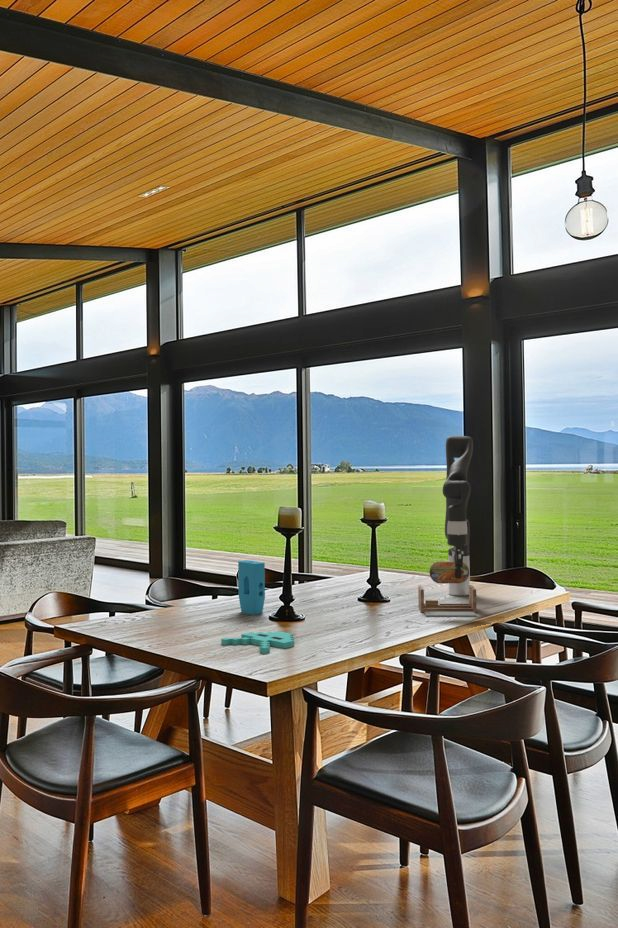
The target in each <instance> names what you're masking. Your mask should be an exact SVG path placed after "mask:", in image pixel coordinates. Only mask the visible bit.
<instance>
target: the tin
mask: <svg viewBox="0 0 618 928" xmlns="http://www.w3.org/2000/svg"><path fill="white" fill-rule="evenodd" d="M457 564H460V563H457ZM428 571H429V576H430V579H431V580H432V581H433V582H434V583H436V584H442V585H443V584H445V585H446V584H449V583H463V582H464V581H466V580H467V578H468V577H469V568H468V566H467V565H466V564H465V563H463V567H462V569H461V579H456V578H455V563H454V561H448V560H447V561H446V560H445V561H441V560H440V561H436V562H433V563H432V564H431V566H430V568H429V569H428Z"/></svg>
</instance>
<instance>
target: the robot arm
mask: <svg viewBox="0 0 618 928" xmlns="http://www.w3.org/2000/svg"><path fill="white" fill-rule="evenodd" d="M473 451H474V440H473V437H471V436H468V435H449V436H448V437H447V438H446V439H445V459H446V461H445V462H446V463H445V464H446V480H445V481H444V483H443V486H442V495H443V496H444V497H445V503H446V504H445V507H446V508H445V520H444V536H445V538H446V539H447V541H446V542H447V545H448V546H452V547H450V548H448V551H447V553H448V554H447V555H448V557H447V559H448V560H447V561H454V563H455V578H456V579H461V569H462V567H463V563H465V564H466V565H467V566H468V568H469V577H468V578H467V580H466V581H464V582H463V583H448V595H451V596H469V585H471V580H470V579H471V578H470V577H471V575H470V574H471V573H470V572H471V571H470V568H471V566H470V563H471V562H470V536H471V533H470V532H471V530H470V529H471V526H470V525H471V524H470V521H469V519H467V508H468V503H469V498H470V496H471V491H472V487H471V484H470V483H469V481H467V480H468V470H469V467H470V463H471V459H472V456H473V454H474V453H473ZM455 458H456V460H455ZM457 563H460V564H457Z"/></svg>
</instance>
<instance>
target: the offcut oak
mask: <svg viewBox="0 0 618 928" xmlns="http://www.w3.org/2000/svg"><path fill="white" fill-rule="evenodd" d="M424 604H425V605H438V604H439V599H424Z"/></svg>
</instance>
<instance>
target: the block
mask: <svg viewBox="0 0 618 928" xmlns="http://www.w3.org/2000/svg"><path fill="white" fill-rule="evenodd" d="M237 563H238V564H237V565H238V569H237V570H238V577H237V578H238V579H237V580H238V583H237V584H238V599H239V606H240V612H241V613H243V614H247V615H252V616H256V615H263V613H264V606H265V605H264V604H265V598H266V587H265V586H266V583H265V582H266V580H265V579H266V577H265V576H266V574H265V573H266V571H265V570H266V569H265V568H266V565H265V562H263V561H257V560H256V561H255V560H249V559H246V560H239V561H237Z"/></svg>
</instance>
